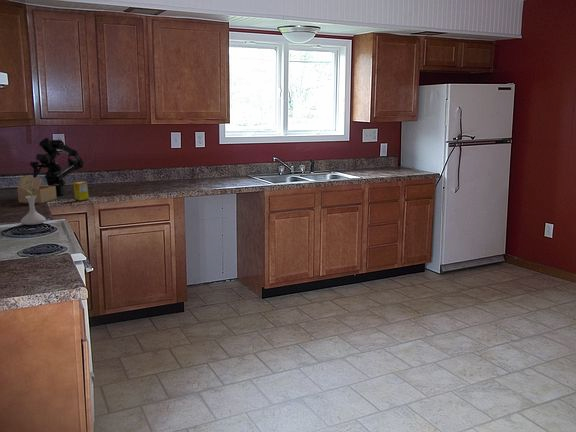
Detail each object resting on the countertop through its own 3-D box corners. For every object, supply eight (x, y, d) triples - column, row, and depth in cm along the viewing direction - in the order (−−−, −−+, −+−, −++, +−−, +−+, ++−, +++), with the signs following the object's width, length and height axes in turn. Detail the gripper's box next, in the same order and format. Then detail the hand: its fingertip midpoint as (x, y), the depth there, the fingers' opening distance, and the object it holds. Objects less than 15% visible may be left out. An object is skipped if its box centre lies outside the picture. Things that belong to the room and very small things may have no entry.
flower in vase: (19, 223, 281) (13, 173, 276) (43, 220, 288) (38, 171, 282) (24, 228, 271) (18, 176, 265) (49, 225, 277) (44, 174, 272)
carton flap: (21, 177, 334) (20, 176, 333) (41, 178, 330) (41, 177, 329) (18, 188, 332) (17, 188, 331) (38, 189, 328) (37, 189, 327)
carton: (35, 197, 348) (34, 185, 346) (57, 199, 343) (56, 186, 341) (18, 202, 334) (16, 188, 332) (40, 203, 330) (39, 190, 328)
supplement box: (83, 199, 344) (82, 181, 341) (89, 200, 340) (87, 182, 338) (74, 200, 339) (73, 182, 337) (80, 201, 335) (78, 183, 333)
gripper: (30, 148, 342) (18, 169, 335) (55, 149, 337) (45, 170, 329) (40, 159, 352) (29, 180, 344) (65, 160, 346) (55, 181, 339)
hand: (39, 177), depth 339 cm, fingers open, 8 cm apart
